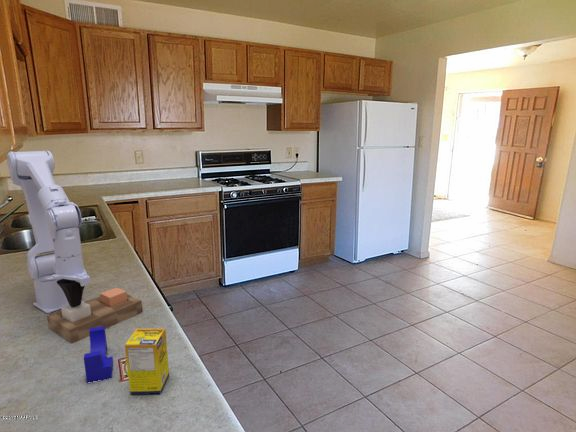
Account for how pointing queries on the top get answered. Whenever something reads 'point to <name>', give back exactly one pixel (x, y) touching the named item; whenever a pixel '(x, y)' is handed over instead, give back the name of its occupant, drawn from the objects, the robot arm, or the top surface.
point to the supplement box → (147, 361)
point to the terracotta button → (113, 297)
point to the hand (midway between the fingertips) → (75, 305)
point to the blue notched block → (98, 357)
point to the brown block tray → (94, 318)
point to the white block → (76, 312)
